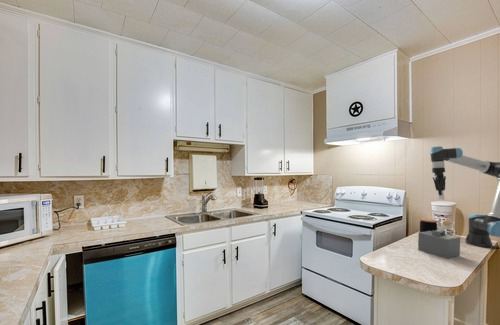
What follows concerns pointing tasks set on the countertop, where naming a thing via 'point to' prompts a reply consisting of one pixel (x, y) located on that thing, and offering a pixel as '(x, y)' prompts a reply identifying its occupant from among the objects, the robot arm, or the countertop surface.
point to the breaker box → (439, 244)
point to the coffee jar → (428, 224)
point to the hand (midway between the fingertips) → (441, 199)
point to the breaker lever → (443, 226)
